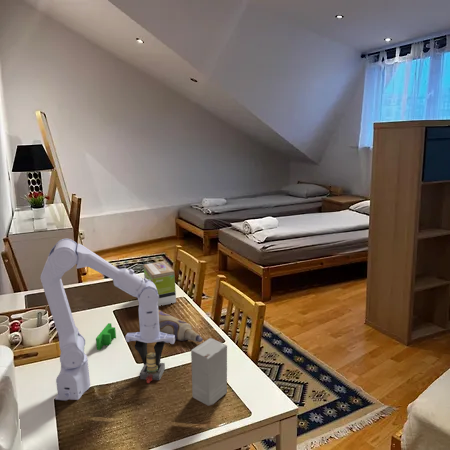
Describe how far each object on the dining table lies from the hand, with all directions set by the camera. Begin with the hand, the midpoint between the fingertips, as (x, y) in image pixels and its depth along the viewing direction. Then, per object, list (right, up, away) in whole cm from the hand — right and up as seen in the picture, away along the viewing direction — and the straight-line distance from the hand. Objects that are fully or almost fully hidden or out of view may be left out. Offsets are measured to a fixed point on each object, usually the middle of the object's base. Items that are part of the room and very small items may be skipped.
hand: (151, 363), depth 127 cm
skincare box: (+18, -7, -9) cm, 21 cm away
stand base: (0, -4, +1) cm, 4 cm away
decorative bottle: (+3, +1, +25) cm, 25 cm away
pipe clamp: (-19, 0, +22) cm, 29 cm away
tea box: (-6, +9, +57) cm, 58 cm away
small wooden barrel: (0, -3, +1) cm, 3 cm away
